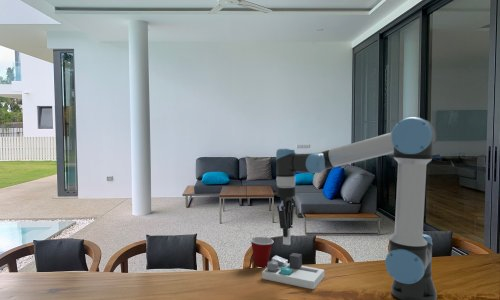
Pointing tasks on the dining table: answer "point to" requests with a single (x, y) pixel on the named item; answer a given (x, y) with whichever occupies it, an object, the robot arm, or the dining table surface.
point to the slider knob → (295, 260)
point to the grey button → (272, 266)
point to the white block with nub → (280, 260)
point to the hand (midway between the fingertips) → (286, 244)
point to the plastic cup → (261, 250)
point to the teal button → (286, 271)
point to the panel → (296, 276)
